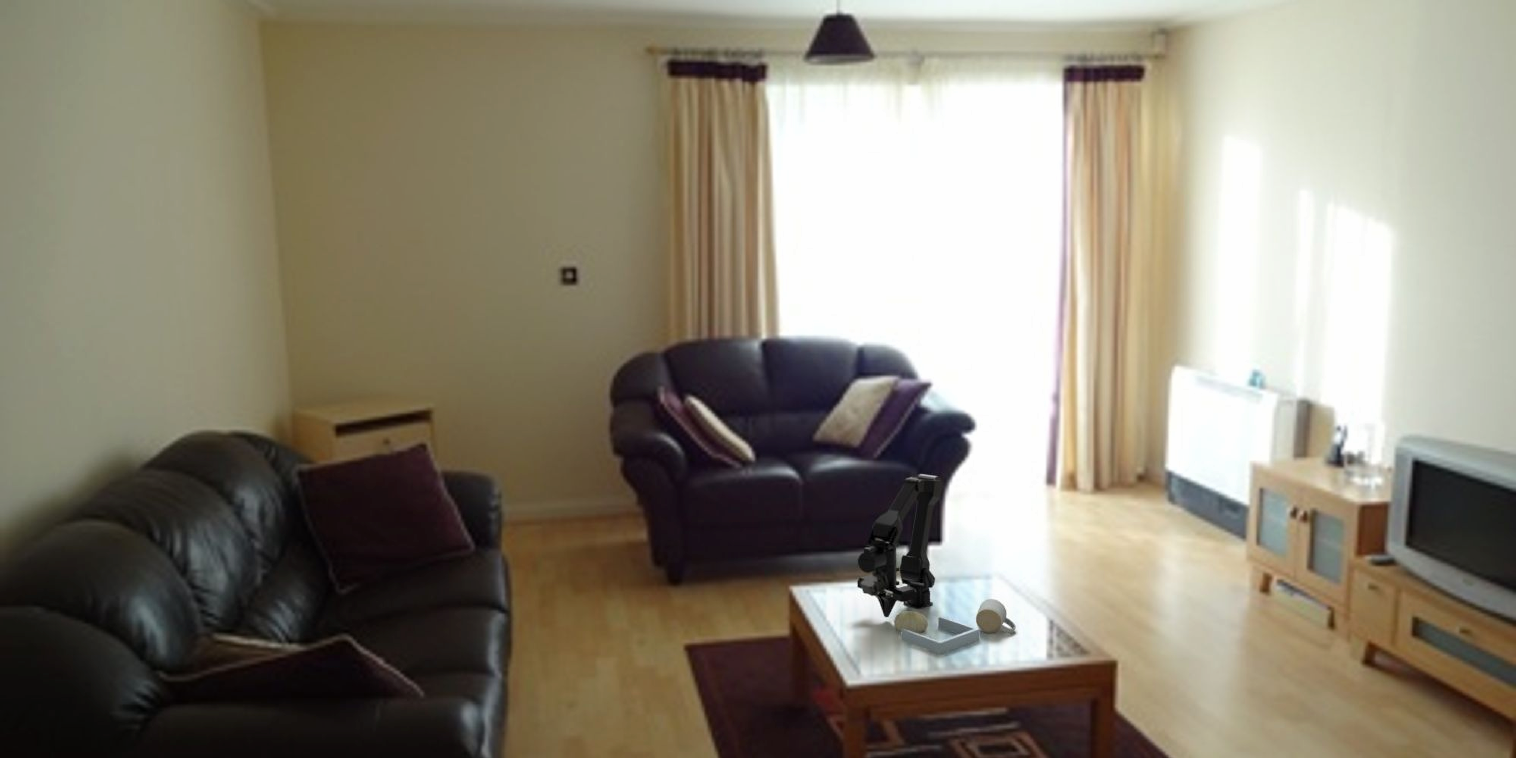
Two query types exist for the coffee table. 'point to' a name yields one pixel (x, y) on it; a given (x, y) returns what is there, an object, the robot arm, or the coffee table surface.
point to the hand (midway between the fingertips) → (886, 616)
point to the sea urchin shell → (911, 622)
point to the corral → (965, 637)
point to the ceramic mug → (993, 617)
